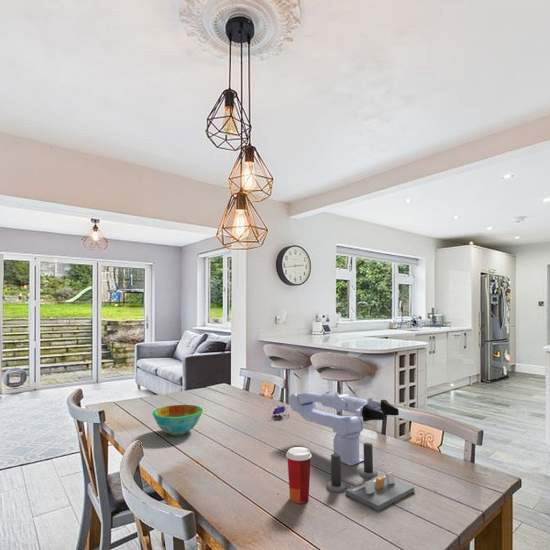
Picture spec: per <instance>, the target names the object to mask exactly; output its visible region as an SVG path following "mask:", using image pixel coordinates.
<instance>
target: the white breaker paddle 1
mask: <svg viewBox="0 0 550 550" xmlns="http://www.w3.org/2000/svg"><path fill="white" fill-rule="evenodd" d="M368 480H369V479H368ZM366 481H367V480H366ZM364 482H365V481H364ZM365 488H366V493H367V494H371V493H373V492H375V489H374V482H373V481H372V480H369V481H367V482H365Z"/></svg>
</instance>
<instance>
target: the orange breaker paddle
mask: <svg viewBox="0 0 550 550" xmlns="http://www.w3.org/2000/svg"><path fill="white" fill-rule="evenodd" d="M384 481H385V477H383V476H380V477H377V478H376V486H375V487H376V488H377V489H380V488H382V487H384Z"/></svg>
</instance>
